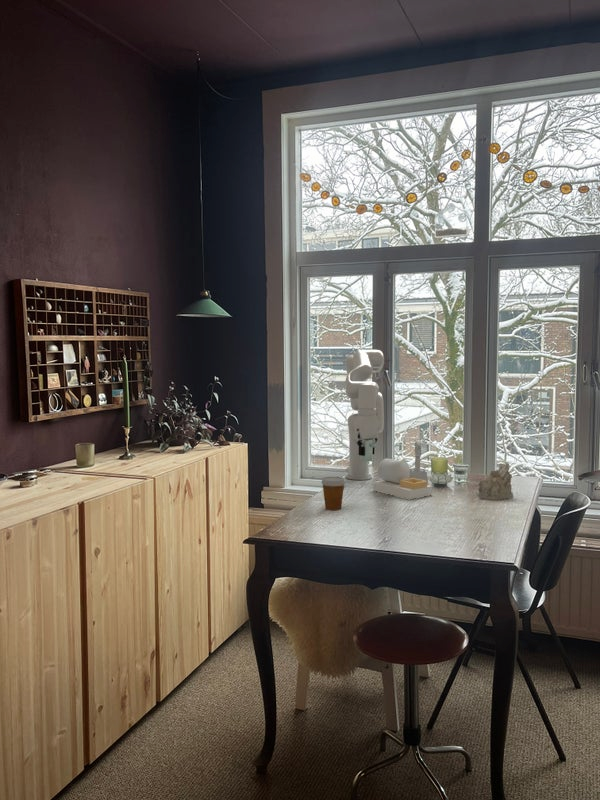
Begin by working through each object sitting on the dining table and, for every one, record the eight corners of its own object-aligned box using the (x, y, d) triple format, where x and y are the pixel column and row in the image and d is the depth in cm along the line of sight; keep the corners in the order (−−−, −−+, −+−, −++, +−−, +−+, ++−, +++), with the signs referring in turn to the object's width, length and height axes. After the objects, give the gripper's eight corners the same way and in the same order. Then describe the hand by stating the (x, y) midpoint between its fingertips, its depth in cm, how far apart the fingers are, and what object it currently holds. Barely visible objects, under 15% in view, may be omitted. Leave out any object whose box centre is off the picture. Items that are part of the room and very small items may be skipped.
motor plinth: (373, 490, 297) (373, 459, 296) (394, 486, 306) (395, 456, 304) (410, 499, 280) (410, 466, 279) (432, 495, 288) (432, 463, 287)
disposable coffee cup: (340, 512, 259) (340, 482, 258) (317, 509, 263) (317, 479, 262) (348, 507, 267) (348, 477, 266) (326, 504, 271) (326, 475, 270)
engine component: (426, 481, 317) (405, 481, 318) (426, 439, 316) (405, 438, 316) (429, 486, 306) (407, 486, 307) (430, 442, 305) (408, 442, 305)
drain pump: (358, 460, 284) (358, 439, 283) (366, 458, 287) (366, 438, 286) (370, 462, 278) (370, 441, 277) (379, 461, 281) (379, 440, 280)
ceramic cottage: (505, 490, 297) (504, 457, 295) (518, 500, 281) (517, 465, 279) (470, 493, 297) (469, 460, 295) (481, 503, 280) (480, 468, 278)
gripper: (375, 410, 290) (374, 451, 292) (346, 412, 279) (345, 455, 281) (387, 411, 284) (386, 453, 286) (358, 414, 273) (358, 458, 275)
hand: (366, 454), depth 283 cm, fingers closed on drain pump, 5 cm apart
